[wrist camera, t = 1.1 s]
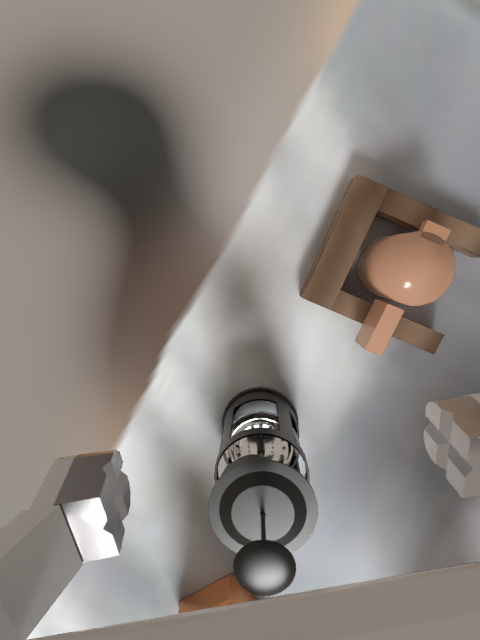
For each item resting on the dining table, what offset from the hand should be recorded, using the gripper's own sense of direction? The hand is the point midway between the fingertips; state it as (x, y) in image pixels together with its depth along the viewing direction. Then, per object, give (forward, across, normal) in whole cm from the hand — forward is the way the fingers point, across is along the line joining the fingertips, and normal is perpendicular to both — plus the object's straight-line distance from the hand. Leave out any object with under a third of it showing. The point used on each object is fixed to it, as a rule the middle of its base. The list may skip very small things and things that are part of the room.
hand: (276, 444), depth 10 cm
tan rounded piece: (+33, +18, -8) cm, 38 cm away
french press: (+31, +1, -24) cm, 39 cm away
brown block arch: (+34, +19, -6) cm, 39 cm away
